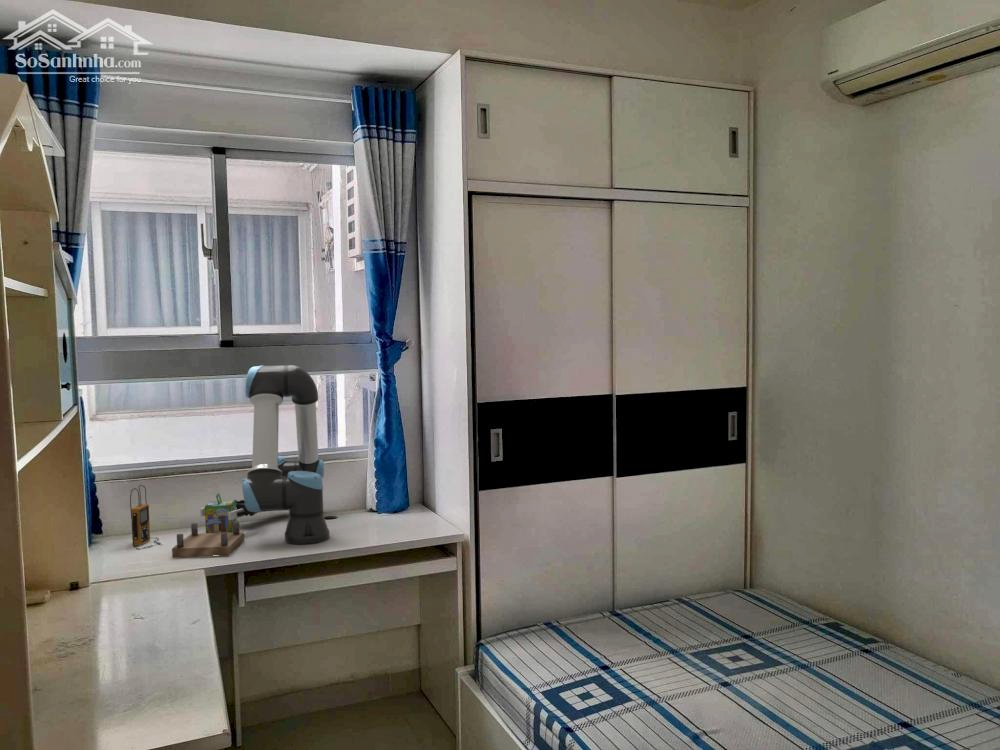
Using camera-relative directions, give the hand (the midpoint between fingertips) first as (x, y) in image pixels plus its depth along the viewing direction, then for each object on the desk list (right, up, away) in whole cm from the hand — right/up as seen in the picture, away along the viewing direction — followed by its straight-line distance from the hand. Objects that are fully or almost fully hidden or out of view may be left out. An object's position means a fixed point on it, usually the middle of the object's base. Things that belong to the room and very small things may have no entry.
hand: (214, 514), depth 274 cm
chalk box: (+1, -8, +3) cm, 9 cm away
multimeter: (-19, -9, -7) cm, 22 cm away
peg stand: (+4, -9, -15) cm, 18 cm away
